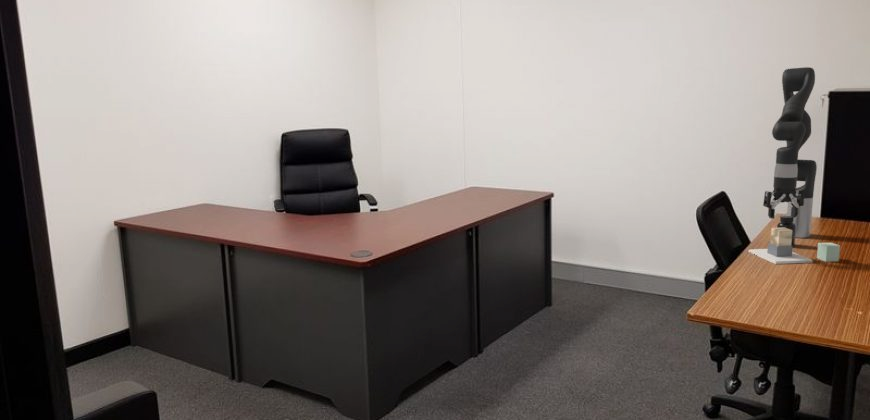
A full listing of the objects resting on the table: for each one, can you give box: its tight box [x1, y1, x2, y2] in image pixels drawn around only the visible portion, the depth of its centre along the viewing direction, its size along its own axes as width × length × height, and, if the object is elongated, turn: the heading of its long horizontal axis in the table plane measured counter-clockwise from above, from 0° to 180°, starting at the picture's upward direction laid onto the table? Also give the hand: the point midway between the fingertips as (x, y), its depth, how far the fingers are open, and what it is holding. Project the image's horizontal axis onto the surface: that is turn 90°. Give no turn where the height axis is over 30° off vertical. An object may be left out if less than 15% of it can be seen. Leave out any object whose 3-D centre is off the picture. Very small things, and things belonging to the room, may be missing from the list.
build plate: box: [748, 242, 813, 265], centre depth 236 cm, size 18×14×5 cm
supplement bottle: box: [776, 215, 796, 247], centre depth 253 cm, size 7×7×12 cm
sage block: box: [816, 241, 841, 263], centre depth 231 cm, size 5×5×6 cm
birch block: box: [770, 227, 792, 246], centre depth 235 cm, size 5×5×6 cm
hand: (782, 217), depth 234 cm, fingers open, 8 cm apart
